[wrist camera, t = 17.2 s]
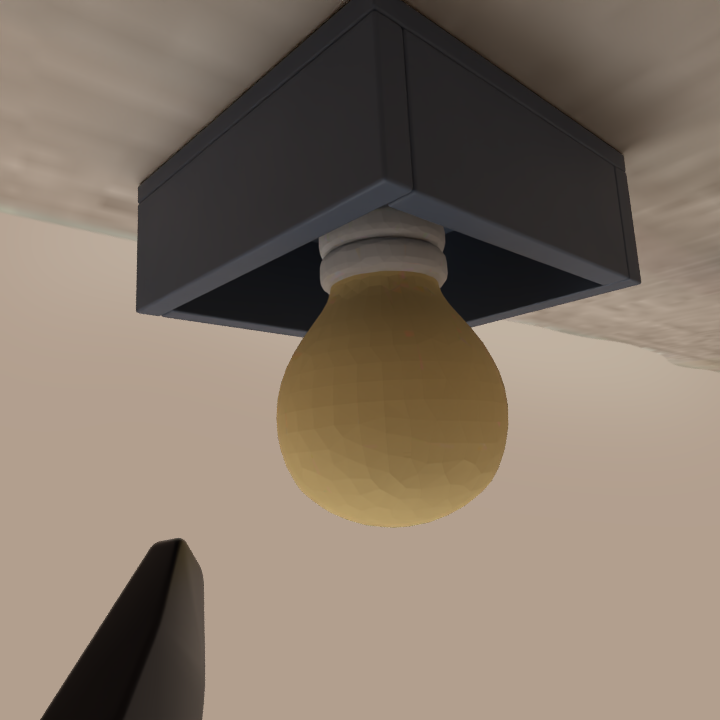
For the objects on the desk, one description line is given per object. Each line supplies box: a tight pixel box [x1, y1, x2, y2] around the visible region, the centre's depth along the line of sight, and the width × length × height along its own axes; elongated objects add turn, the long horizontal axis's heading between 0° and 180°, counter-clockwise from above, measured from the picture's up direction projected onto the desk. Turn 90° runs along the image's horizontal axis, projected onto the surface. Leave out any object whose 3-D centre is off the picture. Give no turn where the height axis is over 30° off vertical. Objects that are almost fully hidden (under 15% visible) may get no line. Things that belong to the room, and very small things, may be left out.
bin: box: [136, 0, 641, 337], centre depth 19 cm, size 11×11×4 cm
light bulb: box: [277, 204, 508, 528], centre depth 18 cm, size 6×6×10 cm
